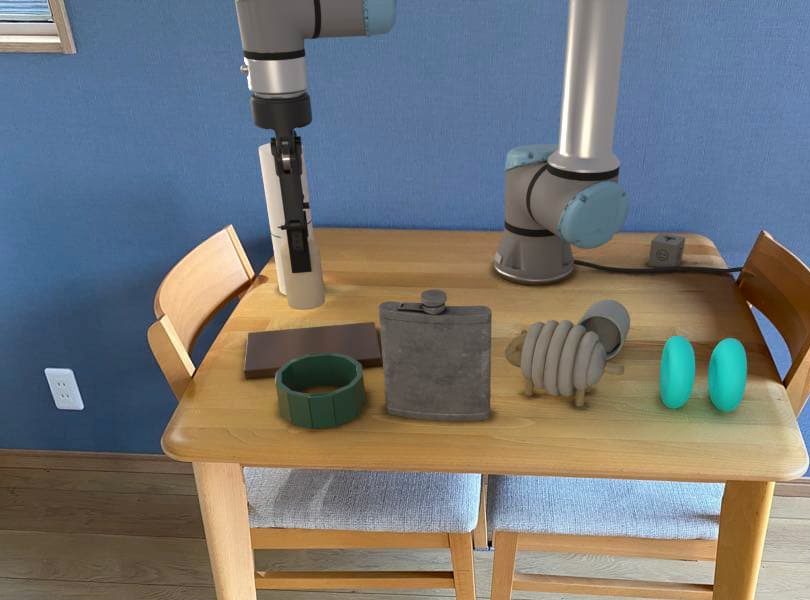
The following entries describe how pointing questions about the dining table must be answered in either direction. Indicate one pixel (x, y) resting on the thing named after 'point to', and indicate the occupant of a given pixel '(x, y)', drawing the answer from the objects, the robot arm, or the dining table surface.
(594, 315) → the ceramic mug
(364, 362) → the walnut board
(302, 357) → the segmented bracelet
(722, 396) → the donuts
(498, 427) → the dining table surface
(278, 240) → the cylindrical container
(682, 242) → the grey engraved cube
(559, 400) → the dining table surface
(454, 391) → the flask
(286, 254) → the candle
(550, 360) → the toy sheep
